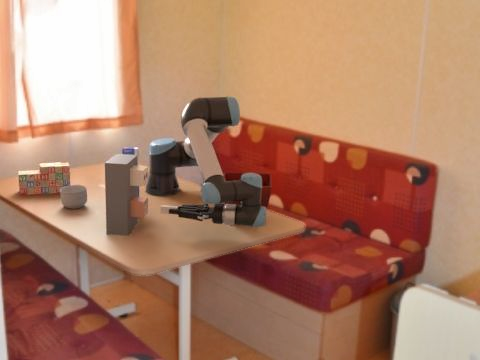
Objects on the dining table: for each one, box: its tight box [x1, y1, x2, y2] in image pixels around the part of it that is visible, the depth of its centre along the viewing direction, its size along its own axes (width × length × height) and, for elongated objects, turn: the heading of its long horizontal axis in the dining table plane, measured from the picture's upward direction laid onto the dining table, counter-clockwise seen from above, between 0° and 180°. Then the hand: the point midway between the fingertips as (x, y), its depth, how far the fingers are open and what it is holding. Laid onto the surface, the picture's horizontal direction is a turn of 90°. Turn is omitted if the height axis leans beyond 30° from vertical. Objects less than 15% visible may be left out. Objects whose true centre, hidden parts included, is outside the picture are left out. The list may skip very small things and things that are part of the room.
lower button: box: [130, 196, 149, 218], centre depth 239 cm, size 8×6×6 cm
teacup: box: [60, 183, 88, 210], centre depth 265 cm, size 14×11×8 cm
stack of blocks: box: [18, 161, 71, 196], centre depth 281 cm, size 21×6×12 cm, turn 109°
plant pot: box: [223, 171, 273, 212], centre depth 255 cm, size 19×19×17 cm
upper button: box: [130, 165, 149, 187], centre depth 236 cm, size 8×6×6 cm
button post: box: [104, 153, 139, 237], centre depth 238 cm, size 8×14×27 cm, turn 173°
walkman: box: [121, 147, 140, 159], centre depth 318 cm, size 8×3×12 cm, turn 102°
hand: (161, 209), depth 238 cm, fingers closed
